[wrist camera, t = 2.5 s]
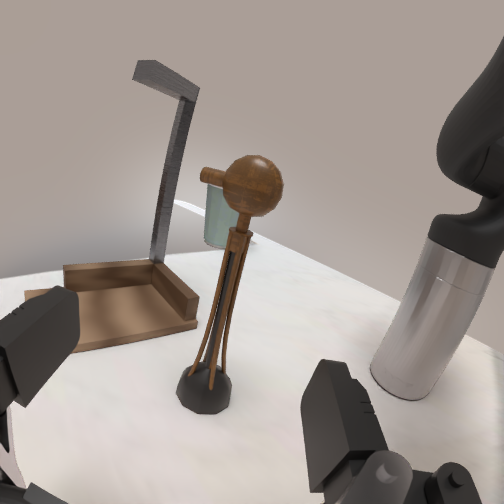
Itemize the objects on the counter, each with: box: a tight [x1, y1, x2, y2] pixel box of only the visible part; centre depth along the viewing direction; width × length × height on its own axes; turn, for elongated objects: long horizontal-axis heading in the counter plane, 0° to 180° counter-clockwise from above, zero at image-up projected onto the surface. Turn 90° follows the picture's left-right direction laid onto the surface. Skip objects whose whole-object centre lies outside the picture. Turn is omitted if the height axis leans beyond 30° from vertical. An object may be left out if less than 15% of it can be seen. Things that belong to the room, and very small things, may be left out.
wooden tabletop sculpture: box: [176, 155, 284, 414], centre depth 20 cm, size 6×5×20 cm
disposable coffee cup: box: [204, 184, 239, 249], centre depth 61 cm, size 11×11×15 cm
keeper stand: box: [24, 60, 200, 353], centre depth 26 cm, size 19×11×27 cm, turn 132°
